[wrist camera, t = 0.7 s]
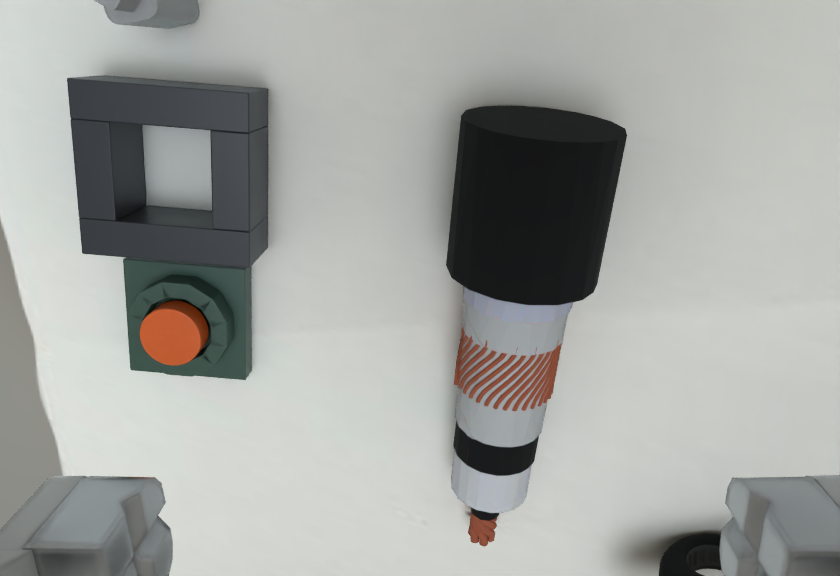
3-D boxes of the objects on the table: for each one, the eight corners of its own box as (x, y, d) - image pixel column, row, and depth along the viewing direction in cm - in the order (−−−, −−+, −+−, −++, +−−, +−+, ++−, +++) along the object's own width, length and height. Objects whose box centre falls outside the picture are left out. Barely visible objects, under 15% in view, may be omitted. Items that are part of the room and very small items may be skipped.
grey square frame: (103, 75, 48) (66, 78, 44) (268, 88, 48) (248, 92, 43) (115, 235, 52) (81, 253, 47) (267, 248, 52) (249, 268, 47)
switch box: (132, 252, 52) (111, 266, 49) (251, 262, 52) (237, 277, 49) (139, 361, 55) (119, 380, 52) (251, 370, 55) (239, 391, 52)
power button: (147, 297, 50) (137, 306, 49) (208, 302, 50) (199, 311, 48) (150, 353, 52) (141, 363, 50) (209, 358, 52) (201, 368, 50)
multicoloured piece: (454, 478, 63) (396, 548, 55) (501, 99, 48) (432, 120, 40) (559, 524, 58) (513, 607, 50) (645, 124, 44) (599, 152, 36)
